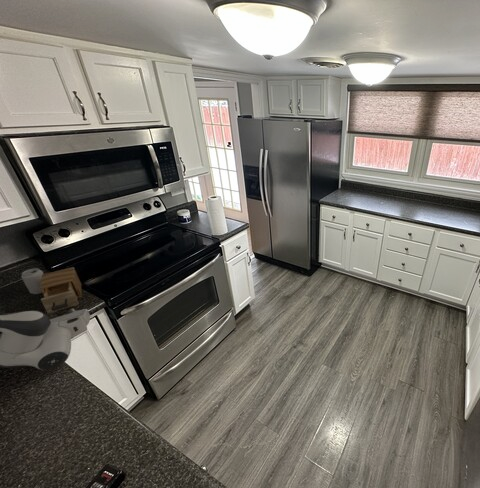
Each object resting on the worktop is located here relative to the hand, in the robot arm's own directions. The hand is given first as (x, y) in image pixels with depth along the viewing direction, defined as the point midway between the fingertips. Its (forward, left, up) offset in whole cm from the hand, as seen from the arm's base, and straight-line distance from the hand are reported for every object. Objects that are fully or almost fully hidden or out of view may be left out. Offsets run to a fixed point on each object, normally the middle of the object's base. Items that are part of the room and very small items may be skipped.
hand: (56, 314), depth 108 cm
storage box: (0, +32, -9) cm, 34 cm away
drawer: (0, +19, -8) cm, 20 cm away
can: (-10, +44, -9) cm, 46 cm away
